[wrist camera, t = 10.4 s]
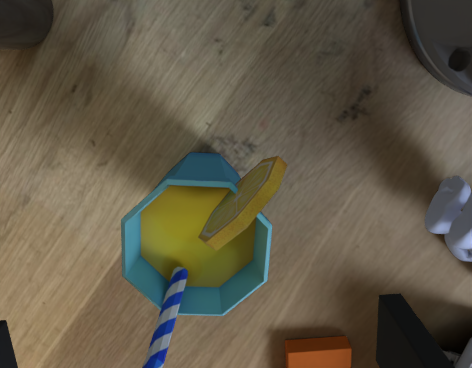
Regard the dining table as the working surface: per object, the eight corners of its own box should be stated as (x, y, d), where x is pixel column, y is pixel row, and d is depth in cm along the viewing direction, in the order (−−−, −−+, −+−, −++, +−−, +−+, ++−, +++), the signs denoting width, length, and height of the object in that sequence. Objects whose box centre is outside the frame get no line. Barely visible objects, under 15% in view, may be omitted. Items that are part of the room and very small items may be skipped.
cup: (206, 294, 34) (197, 475, 19) (112, 256, 32) (27, 419, 18) (290, 133, 30) (356, 208, 16) (188, 84, 29) (159, 117, 15)
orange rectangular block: (346, 335, 35) (351, 348, 34) (345, 375, 36) (350, 389, 35) (285, 339, 35) (287, 352, 34) (286, 380, 36) (289, 394, 35)
